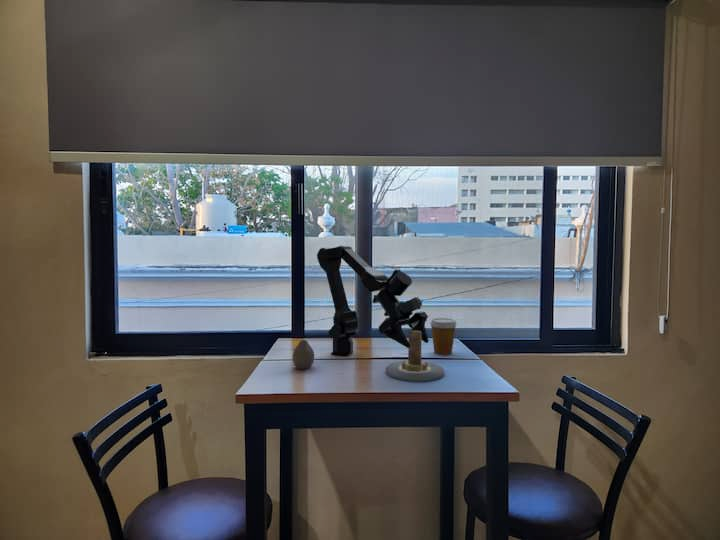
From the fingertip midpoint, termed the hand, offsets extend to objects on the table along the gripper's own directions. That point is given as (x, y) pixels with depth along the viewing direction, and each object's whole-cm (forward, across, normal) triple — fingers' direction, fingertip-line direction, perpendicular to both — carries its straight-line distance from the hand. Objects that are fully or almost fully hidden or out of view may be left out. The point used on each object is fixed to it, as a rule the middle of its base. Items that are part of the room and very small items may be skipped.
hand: (418, 344), depth 141 cm
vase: (-15, -21, +28) cm, 38 cm away
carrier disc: (+5, 0, +7) cm, 9 cm away
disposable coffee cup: (0, +27, +13) cm, 30 cm away
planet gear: (+4, 0, +6) cm, 8 cm away
